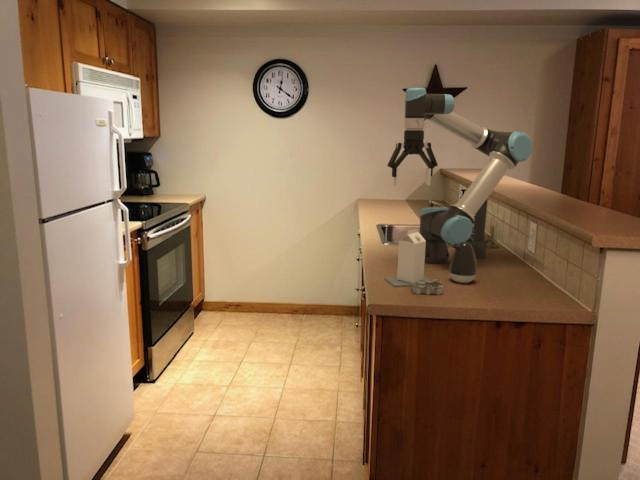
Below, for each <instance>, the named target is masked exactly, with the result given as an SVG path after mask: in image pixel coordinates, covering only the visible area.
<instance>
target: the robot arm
mask: <svg viewBox="0 0 640 480" xmlns="http://www.w3.org/2000/svg"><path fill="white" fill-rule="evenodd" d="M455 104H456V102H455V98H454V97H453V95H452V94H449V93H447V94H446V93H443V94H442V93H427V89H426V88H425V87H409V88H407V89H406V91H405V99H404V125H403V126H404V127H403V128H404V129H405V130H404V131H403V132H404V133H403V143H402V142H396V143H395V149H394V150H393V153H392V154H391V157H390V158H389V160H388V163H387V168H390V169H391V177H393V186H394V187H398V186H399V179H400V177H399V175H400V168H398V167H399V166H400V165H401V163H403V161H404V160H405V159H406V157H407V156H408V155H418V156H420V158H421V159H422V161H423V162H424V164H425V165H426V168H425V178H424V179H425V182H424V183H425V185H426V186H430V185H431V177H433V172H434V171H433V170H434V168H435V167H438V165H439V164H438V162H437V159H436V157H435V155H434V152H433V150H432V143H431V142H428V141H427V142H425V143H424V140H425V131H424V129H425V122H426V121H425V119H426V120H428V121H430V122H432V123H434V124H435V125H436V126H439V127H441V128H442V129H445V130H446V131H448V132H449V133H451V134H453V135H455V136H457V137H459V138H461V139H462V140H463V141H466V142H468V143H469V144H470V145H471V147H472V148H473V149H475V150H477V151H479V152H481V153H482V154H484V155H486V156H488V157H489V160H488V161H487V162H486V163H485V165H484V166H483V168H482V169H481V171H480V172H479V173H478V174H477V176H476V178H474V180H473V181H472V182H471V184H470V185H469V186H468V187H467V189H466V190H465V191H464V193H463V194H462V196H461V197H460V199H459V200H458V201H457V202H456V203H455V204H451V205H450V206H449V207H445V206H443V207H441V206H439V207H438V206H437V207H436V206H435V207H423V208H421V210H420V216H419V233H420V234H421V236H422V237H423V238H424V239H425V241H426V247H425V263H428V264H446V263H448V262H450V253H449V249H448V244H451V245H452V244H453V245H458V244H459V243H461V242H468V241H467V240H469V239H470V238H471V236H472V234H473V232H474V230H473V228H474V225H473V224H475V216H476V213H477V211H478V210H479V208H480V207H481V206H482V204H483V203H484V202H485V200H486V199H487V198H489V196H490V195H491V194H492V192H493V191H494V190H495V188H496V187H498V185H499V183H500V181H501V180H502V179H503V178H504V176H505V175H506V174H507V172H508V171H512V170H514V169H515V167H517V165H518V164H519V163H520V162H522V163H523V162H525V161H527V160H528V159H530V157H531V155H532V152H533V142H532V139H531V137H530V136H529V135H528V134H527V133H526V132H522V131H516V130H515V131H496V130H492V129H489V128H487V127H485V126H482V127H480V126H478V125H477V124H476V123H473V122H472V121H469V120H468V119H466V117H463V116H461V115H459V114H457V113H456V112H455V111H454V108H455ZM403 148H404V150H403ZM423 149H425V151H426V153H425V151H424V150H423ZM401 150H403V151H402V152H401ZM400 152H401V154H400ZM399 155H400V156H399ZM427 156H428V157H427Z"/></svg>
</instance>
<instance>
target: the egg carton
mask: <svg viewBox="0 0 640 480" xmlns="http://www.w3.org/2000/svg"><path fill="white" fill-rule="evenodd" d="M430 280H431V281H426V282H417V283H414V282H411V284H412V286H411V289H410V290H411V291H412V293H413V294H416V295H420V294H426V295H431V294H434V295H438V296H439V295H442V294H443V291H444V290H443V289H444V286H443V285H442V282H441V279H438V278H436V279H435V278H433V279H430Z"/></svg>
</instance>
